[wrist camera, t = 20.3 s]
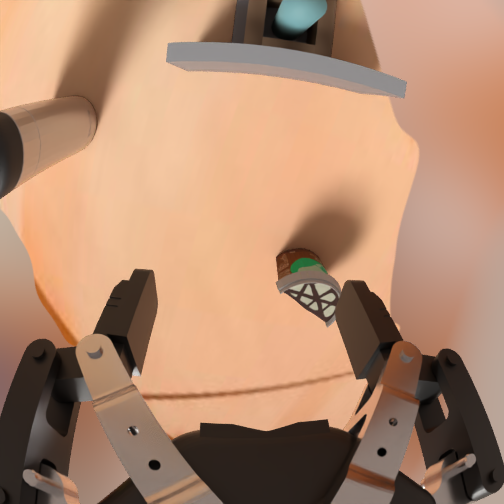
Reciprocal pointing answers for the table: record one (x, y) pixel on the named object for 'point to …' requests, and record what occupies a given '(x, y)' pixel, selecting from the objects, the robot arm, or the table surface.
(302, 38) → the rail plate
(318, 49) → the block
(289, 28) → the teal rounded bar piece
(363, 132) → the table surface
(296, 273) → the food container
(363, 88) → the backstop wall
